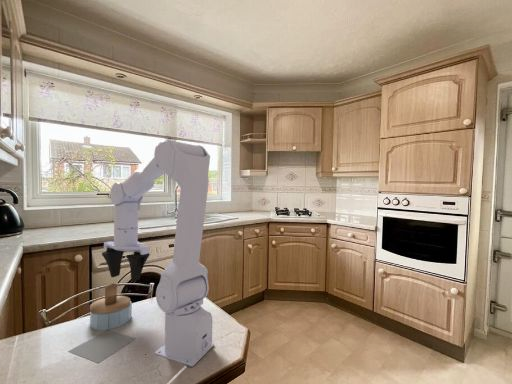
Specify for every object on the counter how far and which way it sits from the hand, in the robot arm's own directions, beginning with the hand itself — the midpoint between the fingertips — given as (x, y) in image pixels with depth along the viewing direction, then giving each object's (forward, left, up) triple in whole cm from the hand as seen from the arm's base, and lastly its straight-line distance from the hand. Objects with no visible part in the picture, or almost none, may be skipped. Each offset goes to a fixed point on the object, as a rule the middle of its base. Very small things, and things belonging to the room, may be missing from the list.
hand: (125, 278), depth 69 cm
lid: (0, +4, -6) cm, 7 cm away
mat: (-8, +12, -10) cm, 17 cm away
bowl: (0, +4, -10) cm, 11 cm away
